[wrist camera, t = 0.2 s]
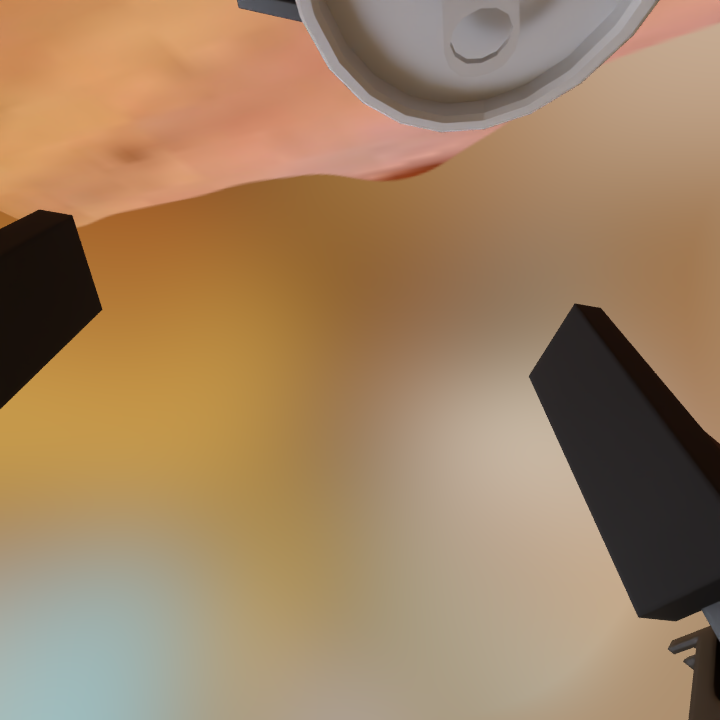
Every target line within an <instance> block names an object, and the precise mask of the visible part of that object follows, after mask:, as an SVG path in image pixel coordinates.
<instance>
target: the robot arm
mask: <svg viewBox="0 0 720 720" xmlns="http://www.w3.org/2000/svg"><path fill="white" fill-rule="evenodd" d="M101 310H102V307H101V304H100V301H99V298H98V294H97V291H96V288H95V285H94V282H93V279H92V276H91V272H90V269H89V266H88V263H87V260H86V257H85V254H84V250H83V247H82V244H81V241H80V239H79V235H78V232H77V229H76V225H75V222H74V219H73V216H72V215H67V214H62V213H56V212H50V211H44V210H37V211H35V212H33V213H31V214H29V215H27V216H25V217H23V218H21V219H19V220H17V221H15V222H13V223H11V224H9V225H7V226H5V227H3V228H1V229H0V409H1V408H2V407H3V406H4V405H5V404H6V403H7V402H8V401H9V400H10V399H11V398H12V397H13V396H14V395H15V394H16V393H17V392H18V391H19V390H20V389H21V388H22V387H23V386H24V385H25V384H27V383H28V382H29V381H30V379H32V378H33V377H34V376H35V375H36V374H37V373H38V372H39V371H40V370H41V369H42V368H43V367H44V366H45V365H46V364H47V363H48V362H49V361H50V360H51V359H52V358H53V357H54V356H55V355H56V354H57V353H58V352H59V351H60V350H61V349H62V348H63V347H64V346H65V345H67V343H69V342H70V341H71V340H72V338H74V337H75V336H76V335H77V334H78V333H79V332H80V331H81V330H82V329H83V328H84V327H85V326H86V325H87V324H88V323H89V322H90V321H91V320H92V319H93V318H94V317H95V316H96V315H97V314H98V313H99V312H100V311H101ZM529 378H530V380H531V382H532V384H533V386H534V389H535V391H536V393H537V395H538V397H539V399H540V402H541V404H542V406H543V408H544V411H545V413H546V415H547V417H548V419H549V422H550V424H551V426H552V428H553V430H554V432H555V435H556V437H557V439H558V441H559V443H560V446H561V448H562V450H563V452H564V455H565V457H566V459H567V461H568V463H569V465H570V468H571V470H572V472H573V474H574V477H575V479H576V481H577V483H578V485H579V488H580V490H581V492H582V494H583V496H584V499H585V501H586V503H587V505H588V507H589V510H590V512H591V514H592V516H593V518H594V521H595V523H596V525H597V527H598V530H599V532H600V534H601V536H602V538H603V541H604V542H605V545H606V547H607V549H608V551H609V554H610V556H611V558H612V560H613V563H614V565H615V567H616V569H617V571H618V573H619V576H620V578H621V580H622V582H623V584H624V587H625V589H626V591H627V593H628V596H629V598H630V600H631V602H632V604H633V607H634V609H635V611H636V613H637V615H638V617H639V618H649V619H659V620H668V621H678V620H680V619H682V618H685V617H687V616H689V615H692V614H694V613H696V612H699V611H701V610H702V611H703V613H704V615H705V617H706V618H707V620H708V622H709V624H710V626H709V627H706V628H703V629H701V630H698V631H696V632H693V633H691V634H688V635H685V636H683V637H680V638H678V639H675V640H673V641H672V642H671V644H670V646H669V648H668V650H669V651H671V652H672V653H673V654H676V653H679V652H682V651H685V650H688V649H690V648H693V647H694V648H696V654H695V655H693V656H689V657H688V658H686V659H685V660H684V661H683V662H684V663H686V664H687V665H688V666H689V667H691V668H692V669H693V670H694V674H693V683H692V692H691V701H690V711H689V720H720V444H719V443H718V442H717V441H716V440H715V439H713V438H712V437H711V436H709V435H708V434H707V433H706V432H705V431H704V430H703V429H702V428H701V427H700V425H699V424H698V423H697V422H696V421H695V420H694V418H693V417H692V416H691V415H690V414H689V412H688V411H687V410H686V409H685V408H684V406H683V405H682V404H681V403H680V402H679V401H678V399H677V398H676V397H675V396H674V395H673V393H672V392H671V391H670V390H669V389H668V387H667V386H666V385H665V384H664V383H663V382H662V380H661V379H660V378H659V377H658V376H657V374H656V373H655V372H654V371H653V370H652V368H651V367H650V366H649V365H648V364H647V362H646V361H645V360H644V359H643V358H642V356H641V355H640V354H639V353H638V352H637V351H636V349H635V348H634V347H633V346H632V345H631V343H630V342H629V341H628V340H627V339H626V338H625V336H624V335H623V334H622V333H621V331H620V330H619V329H618V328H617V327H616V326H615V324H614V323H613V322H612V321H611V320H610V318H609V317H608V316H607V315H606V314H605V312H604V311H603V310H602V309H601V308H598V307H591V306H586V305H580V304H574V306H573V307H572V309H571V311H570V312H569V313H568V315H567V317H566V318H565V320H564V321H563V323H562V325H561V326H560V328H559V329H558V331H557V332H556V334H555V336H554V337H553V339H552V340H551V342H550V344H549V345H548V347H547V348H546V350H545V352H544V353H543V355H542V356H541V358H540V359H539V361H538V362H537V364H536V366H535V367H534V369H533V371H532V372H531V374H530V375H529Z"/></svg>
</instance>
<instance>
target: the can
mask: <svg viewBox="0 0 720 720" xmlns="http://www.w3.org/2000/svg"><path fill="white" fill-rule="evenodd" d="M295 1H296V4H297V8H298V12H299V15H300V18H301V20H302V22H303V23H304V25H305V27H306V29H307V31H308V32H309V34H310V36H311V38H312V39H313V41H314V43H315V45H316V47H317V48H318V50H319V52H320V54H321V56H322V57H323V59H324V61H325V63H326V64H327V66H328V68H329V69H330V70H331V71H332V72H333V73H334V74H335V75H336V76H337V77H338V78H339V79H340V80H341V81H342V82H343V83H344V84H345V85H346V86H347V87H348V88H349V89H350V90H351V91H352V92H353V94H354V95H355V96H356V97H357V98H358V99H359V100H360V101H361V102H362V103H364V104H366V105H368V106H369V107H371V108H373V109H375V110H377V111H378V112H380V113H382V114H384V115H386V116H387V117H389V118H391V119H393V120H395V121H397V122H398V123H400V124H405V125H409V126H414V127H419V128H423V129H428V130H433V131H437V132H452V131H466V130H481V129H487V128H490V127H493V126H496V125H499V124H502V123H505V122H508V121H511V120H514V119H517V118H520V117H523V116H526V115H529V114H532V113H533V112H535V111H536V110H538V109H540V108H541V107H543V106H545V105H546V104H548V103H550V102H551V101H553V100H555V99H556V98H558V97H560V96H561V95H563V94H565V93H566V92H568V91H569V90H571V89H573V88H574V87H576V86H578V85H579V84H581V83H582V82H583V81H584V80H585V79H586V78H588V77H589V76H590V75H591V74H592V73H593V72H594V71H595V70H596V69H597V68H598V67H600V66H601V65H602V64H603V63H604V62H605V61H606V60H607V59H608V58H609V57H610V56H611V55H613V54H614V53H615V52H616V51H617V50H618V49H619V48H620V47H621V46H622V45H623V44H624V43H626V42H627V41H628V40H629V39H630V38H631V37H632V36H633V35H634V34H635V33H636V31H637V30H638V29H639V27H640V26H641V25H642V23H643V22H644V21H645V19H646V18H647V16H648V15H649V14H650V12H651V11H652V10H653V8H654V7H655V6H656V4H657V3H658V2H659V0H295Z"/></svg>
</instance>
